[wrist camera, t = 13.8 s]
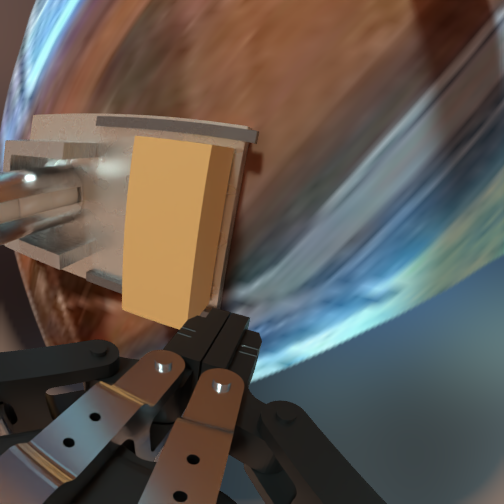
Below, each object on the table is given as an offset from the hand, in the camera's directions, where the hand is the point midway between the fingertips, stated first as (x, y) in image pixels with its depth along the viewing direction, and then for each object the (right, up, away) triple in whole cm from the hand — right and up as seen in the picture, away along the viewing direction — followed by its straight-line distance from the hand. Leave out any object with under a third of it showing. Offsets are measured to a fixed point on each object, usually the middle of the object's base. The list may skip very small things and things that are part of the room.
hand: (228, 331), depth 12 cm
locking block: (-5, +6, +15) cm, 17 cm away
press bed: (-13, +8, +18) cm, 24 cm away
